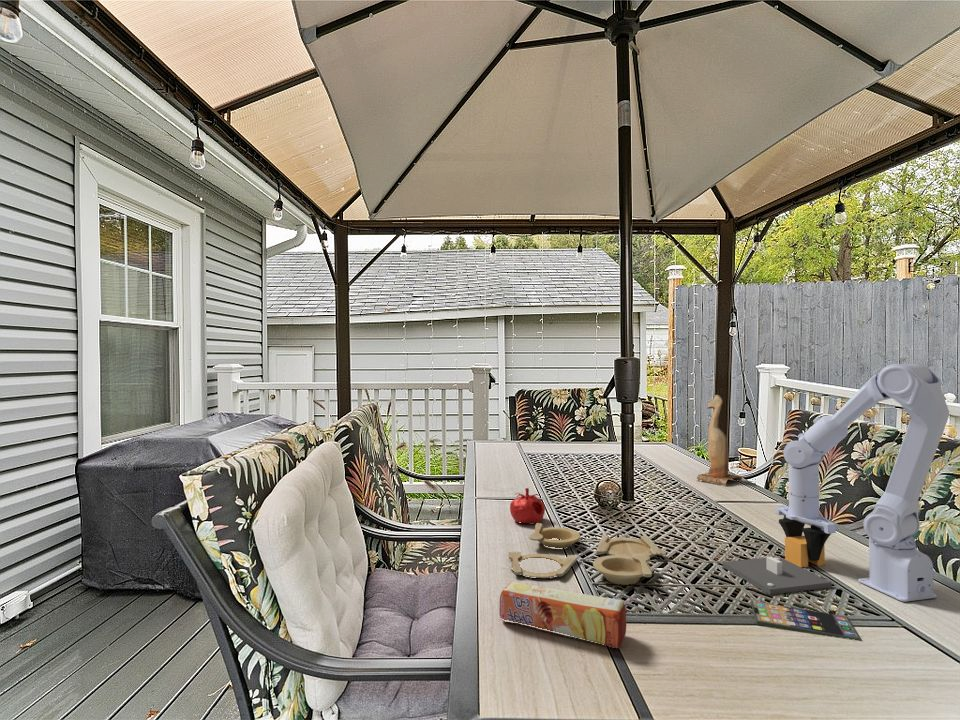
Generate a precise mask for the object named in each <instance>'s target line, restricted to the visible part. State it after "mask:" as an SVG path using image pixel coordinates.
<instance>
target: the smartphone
mask: <svg viewBox="0 0 960 720" xmlns="http://www.w3.org/2000/svg"><path fill="white" fill-rule="evenodd" d="M750 605H751V609H752V613H753V616H754V620H756V621H755V624H756V626H760V625H761V627H766V626H767V627H768V628H775V629H779V630H781V629H782V630H786V629H787V630H788V631H793V632H794V631H795V632H800V633H807V634H813V635H820V636H825V635H827V637H832V636H835V637H834V638H839V637H843V638H842V639H845V638H849V639H848V640H852V639H855V640H854V641H858V640H859V642H862V637H861V636H860V635H859V633H858V632H857V630H856V628H855V627H854V625H853V624H852V622H851V620H850V619H849V617H848V616H846V615H845V616H844V615H839V614H834V613H828V612H827V613H826V612H821V611H815V610H808V609H802V608H798V607H790V606H785V605H779V604H772V603H766V602H761V601H755V600H754V601H753V600H751V601H750ZM767 627H766V628H767Z"/></svg>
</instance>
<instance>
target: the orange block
mask: <svg viewBox="0 0 960 720" xmlns="http://www.w3.org/2000/svg"><path fill="white" fill-rule="evenodd" d="M825 555H826V554H825V545H824V546H823V549H822V552H821V555H820V558H819V560H818V561H810V560H809V559H808V553H807V543H806V539H805V536H804V535H802V536H795V537H786V536H785V537H784V559H785V560H787V561H789V562H791V563H793V564H795V565H797V566H799V567H801V568H808V567H809V563H811V564H813V565H816V566H825V563H826V562H825V561H826V559H825Z"/></svg>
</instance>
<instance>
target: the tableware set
mask: <svg viewBox="0 0 960 720" xmlns="http://www.w3.org/2000/svg"><path fill="white" fill-rule="evenodd" d="M534 525H535V527H534V528H535V529H534V532H533V533H531V534H529V535H528V539H529V540H531V541H537V542H539V543H541V545H542V544H543V545H545V546H548V547H555V548H566V547H569V546H572V545H573V544H575V543H577V542H578V541H580V540H581V534H580V533H579V531H576V530H575V529H571V528H566V527H558V526H553V527H550V526H549V527H543V523H541V522H539V523H536V524H534ZM609 537H610V536H609V535H605V534H604V535H602V537H601V538H600V541H599V543H598V546H597V549H596V550H595V553H596V554H597V555H603V556H600V557H597V558H595V560H594V561H593V563H592V565H593V566H592V567H593V568H594V570H595V571H596V572H599V573H600V574H602V575H603V577H604V579H605V578H606V581H608V582H609V583H612V584H615V585H620V584H621V585H622V586H625V585H626V586H629V584H631V585H634V584H637V583H638V582H639V580H640V579H641V577H645V578H651V577H652V576H653V573H652V570H651V566H650V564H649V562H650V560H651V558H653V557H655V556H657V555H658V556H661V555H662V556H666V555H667V552H666V551H664V550H663V549H662V548H660V547H657V546H656V545H655V544H654V543H653V542H652V541H651V539H650V538H649V537H648V536H646V535H641V536H640V538H634V537H624V536H623V537H611V538H609ZM552 538H557V539H561V540H549V539H552ZM543 545H542V546H543ZM569 548H570V547H569ZM604 554H605V556H604ZM507 555H508V559H509V560H511V561H512V562H511V561H510V562H511V568H513V570H514V572H513V575H516V576H520V574H521V575H525V576H529V577H536V578H550V577H554V576H559V577H558V578H560V577H564V576H565V575H566V574H568V573H569V572H568V571H570V570H571V567H572V566H573V565H574V564H575V563H576V562H577V561H578V560H579V556H578V555H575V554H571V555H568V556H566V557H565V558H562V557H560V556H557V555H553V554H545V553H531V554H530V553H528V554H523V555H522V553H521V551H508V552H507ZM528 558H546V559H550V560H554V561H556V562H558V563H559V564H560V566H561V568H560V569H558V570H557V571H554V572H549V573H534V572H529V571H526V570H523V569H522V568H521V567H520V564H519V562H521V561H522V560H525V559H528ZM565 573H566V574H565ZM550 579H551V578H550Z"/></svg>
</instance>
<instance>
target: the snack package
mask: <svg viewBox="0 0 960 720" xmlns="http://www.w3.org/2000/svg"><path fill="white" fill-rule="evenodd" d="M499 618H500V619H501V618H502V619H504V620H509V621H513V622H518V623H522V624H527V625H531V626H535V627H538V628H542V629H547V630H550V631H555V632H559V633H563V634H567V635H570V636H574V637H577V638H582V639H585V640H589V641H593V642H597V643H600V644H604V645H607V646H611V647H614V648H618V649H620V647H621V646H622V644H623V642H622V641H624V640H623V639H625V637H626V634H627V633H626V632H627V609H626V604H625V602H624V601H623V600H621V599H616V598H615V599H614V598H609V597H604V596H603V597H602V596H597V595H593V594H585V593H578V592H573V591H567V590H564V589H563V590H561V589H555V588H551V587H545V586H538V585H533V584H531V585H530V584H526V583H525V584H524V583H520V582H516V581H509V582H508V583H507V584H506V585H505V586H504V588H503V589H502V590H501V593H500V597H499ZM502 619H501V620H502ZM607 646H606V647H607Z"/></svg>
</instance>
